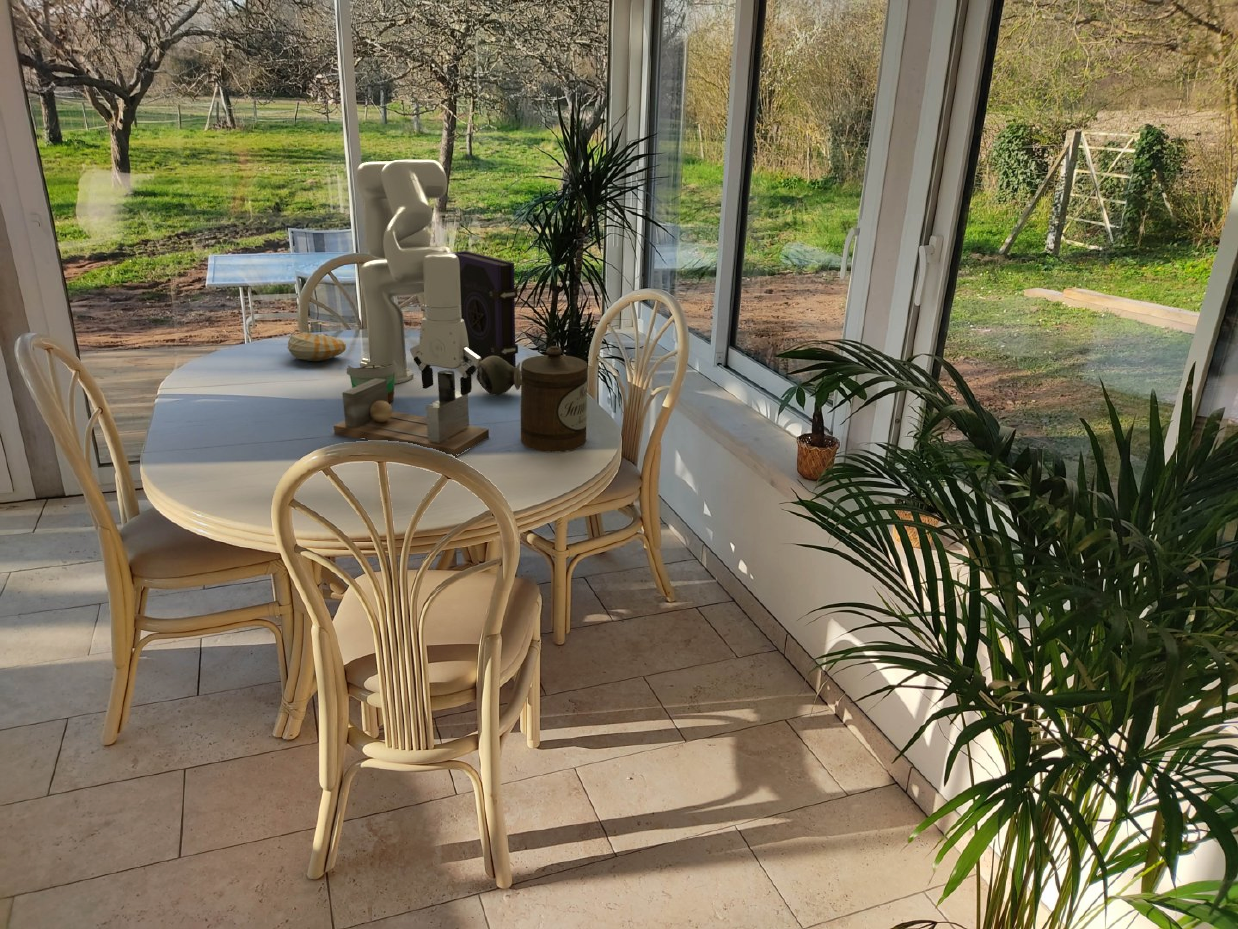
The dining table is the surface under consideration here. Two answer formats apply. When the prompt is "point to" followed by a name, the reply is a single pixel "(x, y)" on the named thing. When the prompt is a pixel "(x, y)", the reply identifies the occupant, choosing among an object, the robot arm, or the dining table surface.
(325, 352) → the nautilus
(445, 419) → the sliding jaw
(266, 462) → the dining table surface
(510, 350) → the book
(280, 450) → the dining table surface
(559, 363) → the wooden container
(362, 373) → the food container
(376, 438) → the base
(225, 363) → the dining table surface
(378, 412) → the walnut
